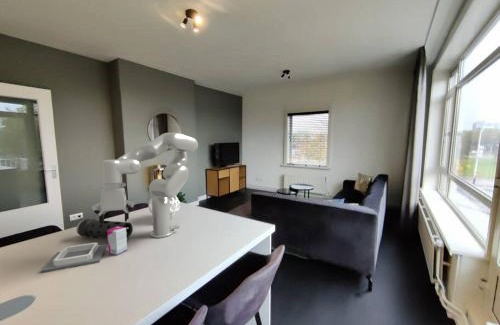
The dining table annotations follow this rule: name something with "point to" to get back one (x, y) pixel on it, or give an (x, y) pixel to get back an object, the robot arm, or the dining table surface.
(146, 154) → the robot arm
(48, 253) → the dining table surface
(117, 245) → the supplement box
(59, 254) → the socket plate
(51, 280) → the dining table surface
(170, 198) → the decorative ball
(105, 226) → the muzzle brake
